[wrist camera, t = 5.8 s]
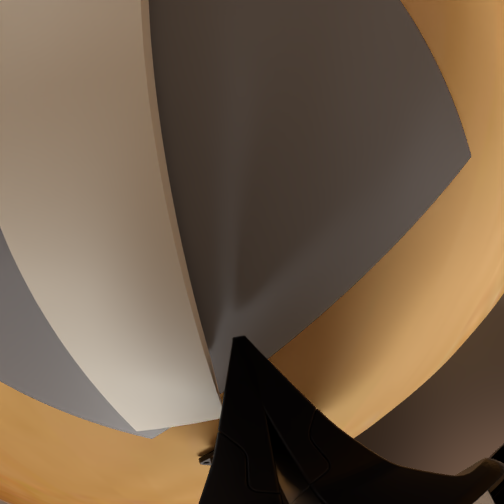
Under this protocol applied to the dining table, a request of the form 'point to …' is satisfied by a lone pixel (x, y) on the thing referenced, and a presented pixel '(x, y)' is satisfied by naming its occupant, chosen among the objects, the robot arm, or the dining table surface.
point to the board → (269, 173)
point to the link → (99, 205)
